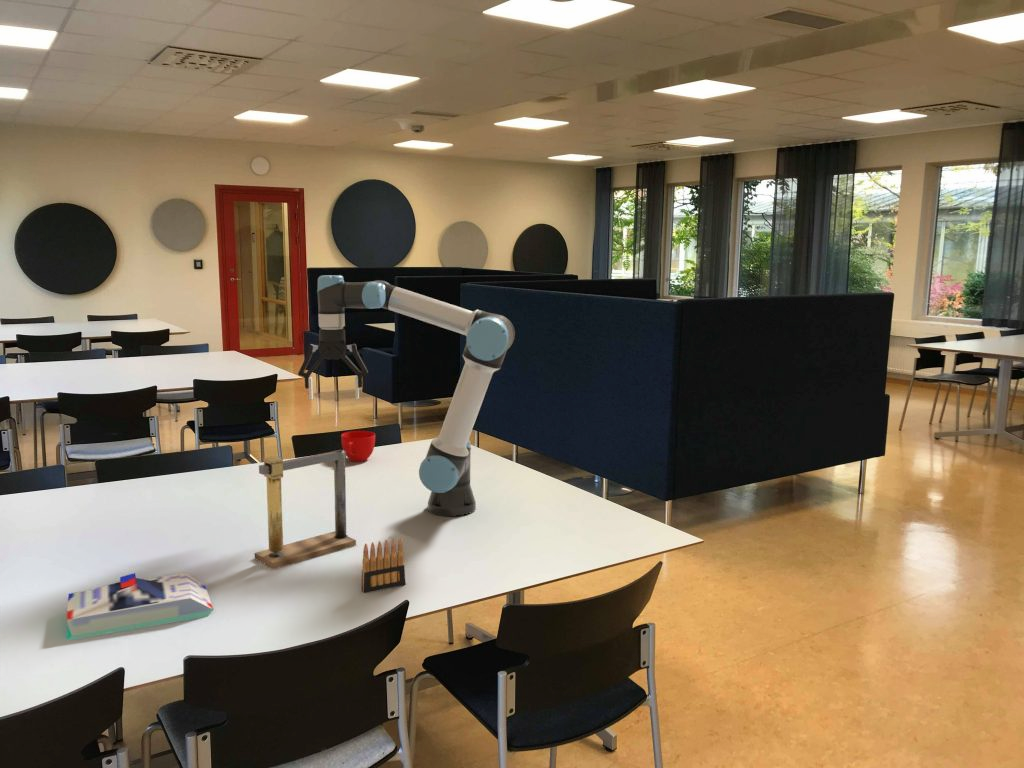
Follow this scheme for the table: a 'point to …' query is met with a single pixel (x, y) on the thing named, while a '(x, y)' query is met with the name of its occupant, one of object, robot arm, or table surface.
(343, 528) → the steel frame
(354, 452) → the ceramic cup
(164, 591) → the toy car
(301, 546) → the walnut board
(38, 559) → the table surface
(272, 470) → the brass leg
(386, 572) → the ammunition clip
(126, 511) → the table surface
